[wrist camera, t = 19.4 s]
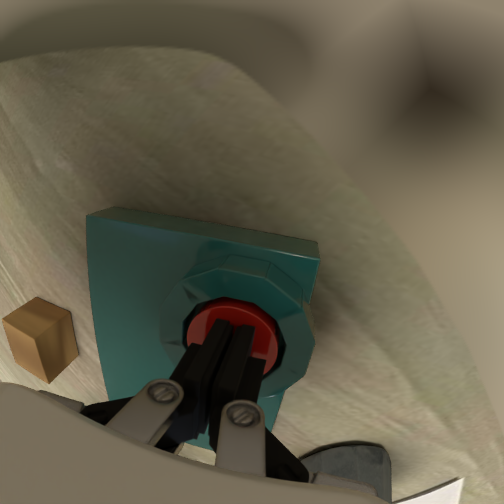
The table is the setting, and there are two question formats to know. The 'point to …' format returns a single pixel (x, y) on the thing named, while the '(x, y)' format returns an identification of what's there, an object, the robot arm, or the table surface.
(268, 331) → the red button
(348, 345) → the table surface
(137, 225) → the button base
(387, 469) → the moka pot
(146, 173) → the table surface
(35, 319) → the block
